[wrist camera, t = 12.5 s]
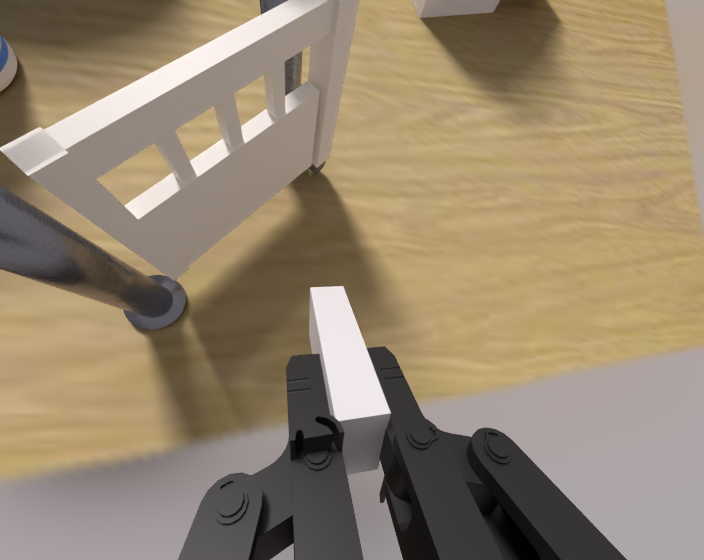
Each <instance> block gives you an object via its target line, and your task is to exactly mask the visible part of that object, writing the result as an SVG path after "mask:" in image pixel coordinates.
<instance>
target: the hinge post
mask: <svg viewBox="0 0 704 560" xmlns="http://www.w3.org/2000/svg"><path fill="white" fill-rule="evenodd" d="M0 269H2V270H5V271H8V272H11V273H14V274H17V275H20V276H23V277H26V278H29V279H32V280H35V281H39V282H42V283H45V284H48V285H51V286H54V287H57V288H60V289H63V290H66V291H69V292H72V293H75V294H78V295H81V296H84V297H87V298H90V299H93V300H96V301H99V302H102V303H105V304H108V305H111V306H114V307H117V308H120V309H123V310H124V313H125V315H126V317H127V319H128V320H129V321H130V322H131V323H132V324H134V325H135V326H137V327H140V328H144V329H148V330H158V329H163V328H166V327H168V326H170V325H172V324H173V323H175V322H176V321H177V320H178V319H179V318H180V317H181V316H182V314H183V313H184V311H185V308H186V305H187V296H186V292H185V290H184V288H183V287H182V286H181V285H180V284H179V283H178V282H177V281H173V280H172V279H171V278H169V277H167V276H162V275H153V276H148V277H147V276H146V275H144V274H143V273H141V272H139V271H138V270H136V269H135V268H133V267H131V266H130V265H128V264H126V263H125V262H123V261H122V260H120V259H118V258H117V257H115V256H113V255H112V254H110V253H109V252H107V251H105V250H104V249H102V248H100V247H99V246H97V245H96V244H94V243H92V242H91V241H89V240H88V239H86V238H84V237H83V236H81V235H79V234H78V233H76V232H75V231H73V230H71V229H70V228H68V227H66V226H65V225H63V224H62V223H60V222H58V221H57V220H55V219H53V218H52V217H50V216H49V215H47V214H45V213H44V212H42V211H40V210H39V209H37V208H36V207H34V206H32V205H31V204H29V203H28V202H26V201H24V200H23V199H21V198H19V197H18V196H16V195H15V194H13V193H11V192H10V191H8V190H6V189H5V188H3V187H2V186H0Z"/></svg>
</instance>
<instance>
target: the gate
mask: <svg viewBox="0 0 704 560" xmlns="http://www.w3.org/2000/svg"><path fill="white" fill-rule="evenodd" d="M358 5H359V0H288V1H286V2H284V3H282V4H281V5H279V6H277V7H275V8H273V9H271V10H269V11H267V12H265V13H264V14H262V15H260V16H258V17H256V18H254V19H252V20H250V21H248V22H247V23H245V24H243V25H241V26H239V27H237V28H235V29H233V30H231V31H230V32H228V33H226V34H224V35H222V36H220V37H218V38H216V39H214V40H213V41H211V42H209V43H207V44H205V45H203V46H201V47H199V48H197V49H196V50H194V51H192V52H190V53H188V54H186V55H184V56H182V57H180V58H179V59H177V60H175V61H173V62H171V63H169V64H167V65H165V66H163V67H162V68H160V69H158V70H156V71H154V72H152V73H150V74H148V75H146V76H145V77H143V78H141V79H139V80H137V81H135V82H133V83H131V84H129V85H128V86H126V87H124V88H122V89H120V90H118V91H116V92H114V93H112V94H111V95H109V96H107V97H105V98H103V99H101V100H99V101H97V102H95V103H94V104H92V105H90V106H88V107H86V108H84V109H82V110H80V111H78V112H77V113H75V114H73V115H71V116H69V117H67V118H65V119H63V120H61V121H60V122H58V123H56V124H54V125H52V126H50V127H48V128H46V129H44V130H43V129H42V128H41V127H39V128H37V129H35V130H33V131H31V132H29V133H27V134H25V135H23V136H21V137H19V138H18V139H16V140H14V141H12V142H10V143H8V144H6V145H4V146H2V147H0V150H1V151H2V152H3V153H4V154H5V155H6V156H7V157H8V158H9V159H10V160H11V161H12V162H13V163H15V164H16V165H17V166H18V167H19V168H20V169H21V170H22V171H23V172H24V173H25V174H26V175H27V176H29V177H30V178H32V179H33V180H34V181H36V182H37V183H38V184H40V185H41V186H43V187H44V188H45V189H47V190H48V191H50V192H51V193H52V194H54V195H55V196H57V197H58V198H59V199H61V200H62V201H63V202H65V203H66V204H68V205H69V206H70V207H72V208H73V209H75V210H76V211H77V212H79V213H80V214H82V215H83V216H84V217H86V218H87V219H89V220H90V221H91V222H93V223H94V224H95V225H97V226H98V227H100V228H101V229H102V230H104V231H105V232H107V233H108V234H109V235H111V236H112V237H114V238H115V239H116V240H118V241H119V242H121V243H122V244H123V245H125V246H126V247H127V248H129V249H130V250H132V251H133V252H134V253H136V254H137V255H139V256H140V257H141V258H143V259H144V260H146V261H147V262H148V263H150V264H151V265H152V266H154V267H155V268H157V269H158V270H159V271H161V272H162V273H164V274H165V275H166V276H168V277H169V278H171V279H172V280H173V281H175V280H176V279H178V278H179V277H180V276H181V275H182V274H184V273H185V272H186V271H187V270H188V269H190V268H188V267H189V266H190V265H191V264H192V263H193V262H195V261H196V260H197V259H198V258H200V257H201V256H202V255H203V254H204V253H206V252H207V251H208V250H209V249H210V248H212V247H213V246H214V245H215V244H217V243H218V242H219V241H220V240H221V239H223V238H224V237H225V236H226V235H227V234H229V233H230V232H231V231H232V230H234V229H235V228H236V227H237V226H238V225H240V224H241V223H242V222H243V221H244V220H246V219H247V218H248V217H249V216H250V215H252V214H253V213H254V212H255V211H257V210H258V209H259V208H260V207H261V206H263V205H264V204H265V203H266V202H267V201H269V200H270V199H271V198H272V197H274V196H275V195H276V194H277V193H278V192H280V191H281V190H282V189H283V188H284V187H286V186H287V185H288V184H289V183H291V182H292V181H293V180H294V179H295V178H297V177H298V176H299V175H300V174H301V173H303V172H304V171H305V170H306V169H308V168H309V169H310V170H311V171H312V172H313V173H314V174H316V173H318V172H319V171H320V170H321V169H322V168H323V166H324V164H325V162H326V160H327V159H328V158H329V157H330V152H331V147H332V141H333V136H334V131H335V126H336V120H337V115H338V110H339V105H340V100H341V94H342V89H343V84H344V79H345V73H346V68H347V63H348V58H349V52H350V47H351V42H352V37H353V31H354V26H355V21H356V16H357V11H358ZM309 46H311V48H310V63H309V79H308V81H307V82H305V83H304V84H303V85H301V86H300V87H298V88H297V89H295V90H294V91H292V92H291V93H289V94H288V95H286V96H285V63H284V62H285V61H287V60H288V59H290V58H291V57H293V56H295V55H296V54H298V53H299V52H301V51H303V50H304V49H306V48H307V47H309ZM263 75H264V80H265V91H266V102H267V109H266V110H264V111H263V112H261V113H260V114H258V115H257V116H255V117H254V118H253V119H251V120H250V121H248V122H247V123H245V124H244V125H242V126H241V125H240V120H239V115H238V110H237V106H236V101H235V96H234V93H235V92H237V91H238V90H240V89H242V88H243V87H245V86H246V85H248V84H250V83H251V82H253V81H254V80H256V79H258V78H259V77H261V76H263ZM213 106H214V109H215V113H216V116H217V120H218V123H219V126H220V130H221V133H222V137H223V139H222V140H220V141H219V142H217V143H216V144H214V145H213V146H211V147H210V148H208V149H207V150H205V151H204V152H202V153H201V154H200V155H198V156H197V157H195V158H194V159H192V160H191V161H189V159H188V157H187V155H186V153H185V150H184V148H183V146H182V144H181V142H180V140H179V138H178V136H177V134H176V132H175V130H176V129H178V128H179V127H181V126H182V125H184V124H186V123H187V122H189V121H190V120H192V119H194V118H195V117H197V116H198V115H200V114H202V113H203V112H205V111H206V110H208V109H210V108H211V107H213ZM154 143H155V145H156V146H157V148H158V150H159V151H160V153H161V155H162V156H163V158H164V159H165V161H166V163H167V164H168V166H169V168H170V169H171V171H172V172H173V173H172V174H170V175H169V176H167V177H166V178H164V179H163V180H161V181H160V182H158V183H157V184H155V185H154V186H152V187H151V188H150V189H148V190H147V191H145V192H144V193H142V194H141V195H139V196H138V197H136V198H135V199H133V200H132V201H130V202H129V203H127V204H126V205H125V206H124V205H123V204H121V203H120V202H119V201H118V200H117V199H116V198H115V197H114V196H113V195H112V194H111V193H110V192H109V191H108V190H107V189H106V188H105V187H104V186H103V185H102V184H101V183H99V182H98V181H97V180H96V179H97V178H99V177H101V176H102V175H104V174H105V173H107V172H109V171H110V170H112V169H113V168H115V167H117V166H118V165H120V164H121V163H123V162H125V161H126V160H128V159H129V158H131V157H133V156H134V155H136V154H137V153H139V152H141V151H142V150H144V149H146V148H147V147H149V146H150V145H152V144H154Z"/></svg>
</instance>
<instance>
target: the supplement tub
mask: <svg viewBox="0 0 704 560" xmlns="http://www.w3.org/2000/svg"><path fill="white" fill-rule="evenodd" d="M16 71H17V60H16V56H15V53H14V51H13V50H12V48H11V47H10V45H9V44H8V43H7V41H6V40H5V39H4V38H3V37H2V36H1V35H0V92H1V91H2V90H4V89H5V88H6V87H7V86H8V85H9V84H10V83H11V81H12V80H13V78H14V76H15V74H16Z"/></svg>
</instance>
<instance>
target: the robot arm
mask: <svg viewBox="0 0 704 560" xmlns="http://www.w3.org/2000/svg"><path fill="white" fill-rule="evenodd" d="M309 337H310V343H311V350H312V354H309V355H298V356H292V357H291V359H290V361H289V363H288V365H287V367H286V373H287V400H288V424H289V441H288V444H287V447H286V449H285V451H284V452H283V454H282V455H281V456H280V457H279V458H278V459H277V460H276V462H274V463H273V464H271V465H270V466H268V467H266V468H265V469H263V470H261V471H259V472H257V473H255V474H254V475H248V474H244V473H235V474H229V475H228V476H226V477H224V478H222V479H220V480H218V481H217V482H216V483H215V484H214V485H213V486H212V487H211V488H210V489H209V490H208V491H207V493H206V495H205V496H204V498H203V500H202V502H201V504H200V506H199V509H198V511H197V514H196V516H195V519H194V521H193V523H192V526H191V528H190V531H189V534H188V536H187V539H186V541H185V543H184V546H183V548H182V551H181V554H180V556H179V559H178V560H270V559H271V558H273V557H274V556H276V555H277V554H278V553H280V552H281V551H283V550H284V549H285V548H287V547H288V546H290V545H291V544H293V543H294V560H363V555H362V549H361V544H360V539H359V535H358V530H357V524H356V519H355V514H354V509H353V504H352V499H351V494H350V489H349V484H348V478H347V475H349V474H354V473H359V472H364V471H369V470H375V469H378V466H379V461H381V464H382V468H383V471H384V475H385V476H384V480H383V483H382V487H381V491H380V503H383V502H384V500H385V497H386V499H387V503H388V507H389V511H390V514H391V518H392V521H393V525H394V528H395V532H396V535H397V539H398V543H399V546H400V550H401V554H402V557H403V560H627V559H626V558H625V557H624V556H623V555H622V554H621V553H620V552H619V551H618V550H617V549H616V548H615V547H614V546H613V545H612V544H611V543H610V542H609V541H608V540H607V538H606V537H604V535H603V534H602V533H601V532H600V531H599V530H598V529H597V528H596V527H595V526H594V525H593V524H592V523H591V522H590V521H589V520H588V519H587V518H586V517H585V516H584V515H583V514H582V512H581V511H580V510H579V509H578V508H577V507H576V506H575V505H574V504H573V503H572V502H571V501H570V500H569V499H568V498H567V497H566V496H565V495H564V494H563V493H562V492H561V491H560V489H559V488H558V487H557V486H556V485H555V484H554V483H553V482H552V481H551V480H550V479H549V478H548V477H547V476H546V475H545V474H544V473H543V472H542V471H541V470H540V469H539V468H538V467H537V466H536V465H535V463H533V461H532V460H530V458H529V457H528V456H527V455H526V454H525V453H524V452H523V451H522V450H521V449H520V448H519V447H518V446H517V445H516V444H515V443H514V442H513V441H512V440H511V439H510V438H509V437H508V436H506V435H505V434H504V433H502V432H500V431H497V430H496V429H491V428H481V429H478V430H477V431H476V432H475V433H474V434H473V436H472V437H468V436H463V435H457V434H451V433H447V432H443V431H441V430H439V429H437V427H436V426H435V425H434V424H433V423H431V422H430V421H429V420H427V419H425V417H424V416H423V414H422V412H421V410H420V408H419V406H418V404H417V402H416V400H415V398H414V396H413V394H412V392H411V389H410V387H409V385H408V383H407V381H406V379H405V378H404V375H403V373H402V371H401V369H400V366H399V364H398V362H397V360H396V358H395V356H394V355H393V354H392V353H391V352H390V351H389V350H388V349H387V348H386V347H385V346H384V347H373V348H366V346H365V343H364V340H363V338H362V335H361V332H360V330H359V327H358V324H357V322H356V319H355V316H354V314H353V311H352V308H351V306H350V303H349V300H348V298H347V295H346V292H345V290H344V287H343V286H333V287H310V319H309Z"/></svg>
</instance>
